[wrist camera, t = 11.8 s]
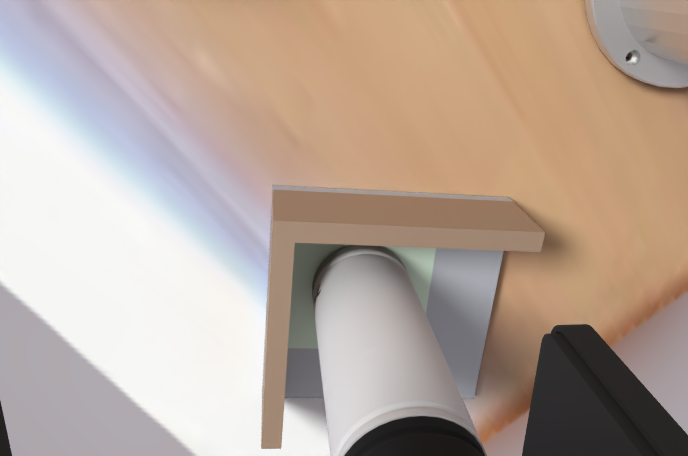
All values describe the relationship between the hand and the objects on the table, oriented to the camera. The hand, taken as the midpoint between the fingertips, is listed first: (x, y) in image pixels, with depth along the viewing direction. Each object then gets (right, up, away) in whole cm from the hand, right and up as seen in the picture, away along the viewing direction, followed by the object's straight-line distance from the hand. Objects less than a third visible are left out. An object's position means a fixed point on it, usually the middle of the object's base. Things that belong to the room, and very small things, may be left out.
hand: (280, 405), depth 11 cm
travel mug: (+2, -1, +30) cm, 30 cm away
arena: (+3, -2, +31) cm, 32 cm away
